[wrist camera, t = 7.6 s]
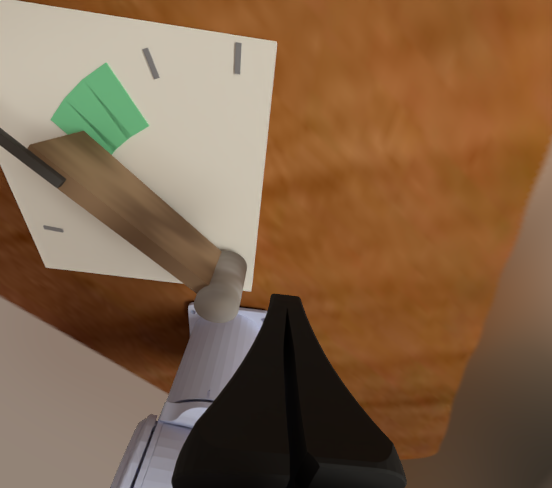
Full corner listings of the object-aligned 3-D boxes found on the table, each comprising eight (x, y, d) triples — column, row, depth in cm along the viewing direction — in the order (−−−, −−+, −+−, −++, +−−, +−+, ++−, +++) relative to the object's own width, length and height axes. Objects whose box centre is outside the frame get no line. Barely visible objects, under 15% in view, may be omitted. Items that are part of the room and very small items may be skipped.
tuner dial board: (252, 284, 24) (250, 292, 23) (54, 260, 24) (44, 268, 23) (277, 43, 15) (276, 41, 14) (-57, -10, 14) (-82, -16, 13)
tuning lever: (254, 268, 21) (247, 310, 17) (229, 285, 22) (217, 328, 19) (66, 98, 15) (-9, 105, 11) (44, 134, 16) (-31, 151, 12)
